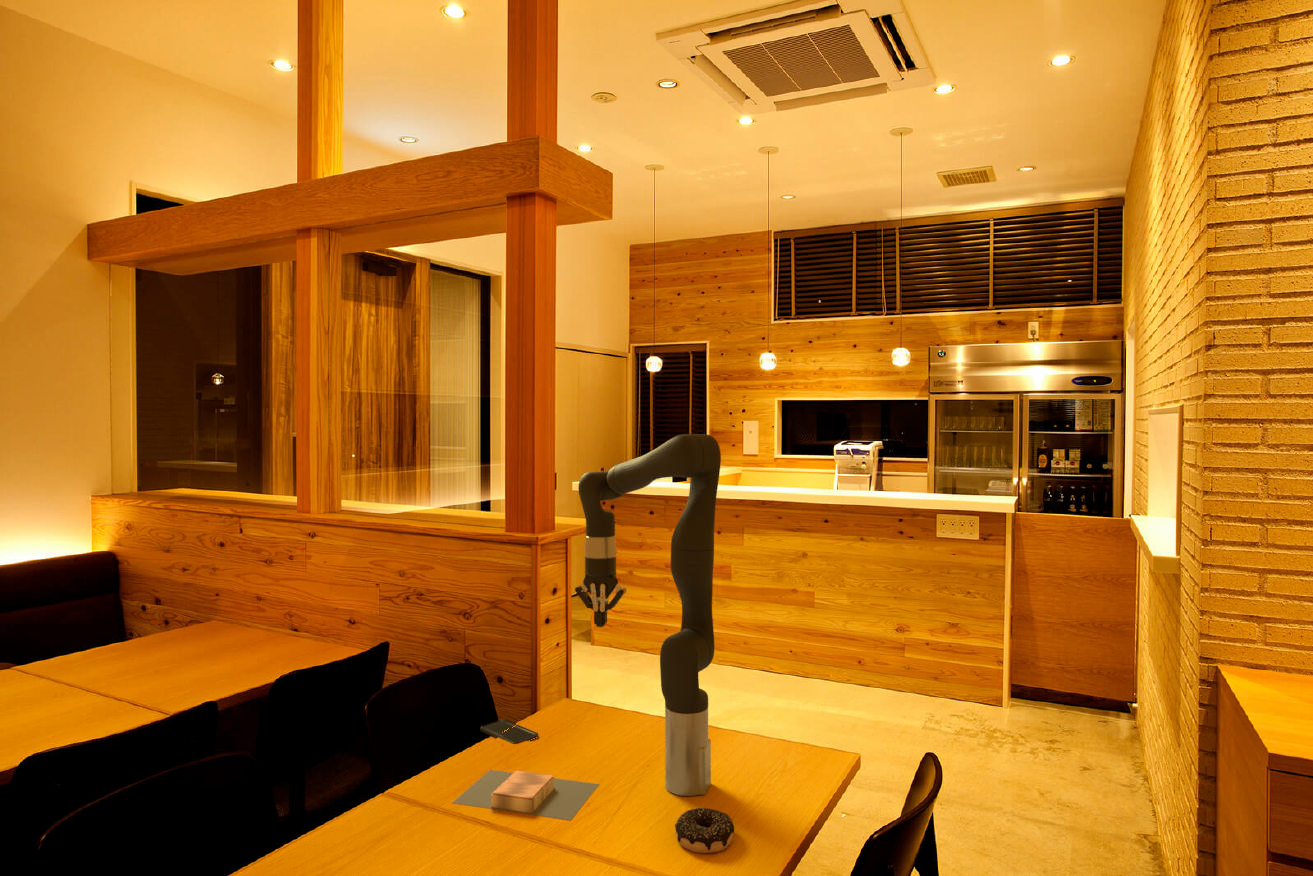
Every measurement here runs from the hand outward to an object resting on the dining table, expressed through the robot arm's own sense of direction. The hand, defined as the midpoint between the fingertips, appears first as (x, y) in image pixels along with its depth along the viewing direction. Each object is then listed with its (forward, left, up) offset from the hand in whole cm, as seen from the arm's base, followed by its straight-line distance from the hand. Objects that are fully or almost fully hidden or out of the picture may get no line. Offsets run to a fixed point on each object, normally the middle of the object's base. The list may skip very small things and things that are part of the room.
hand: (600, 626), depth 187 cm
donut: (-33, +35, -30) cm, 56 cm away
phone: (+25, -1, -30) cm, 39 cm away
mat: (+6, +28, -29) cm, 41 cm away
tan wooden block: (+6, +24, -27) cm, 37 cm away
